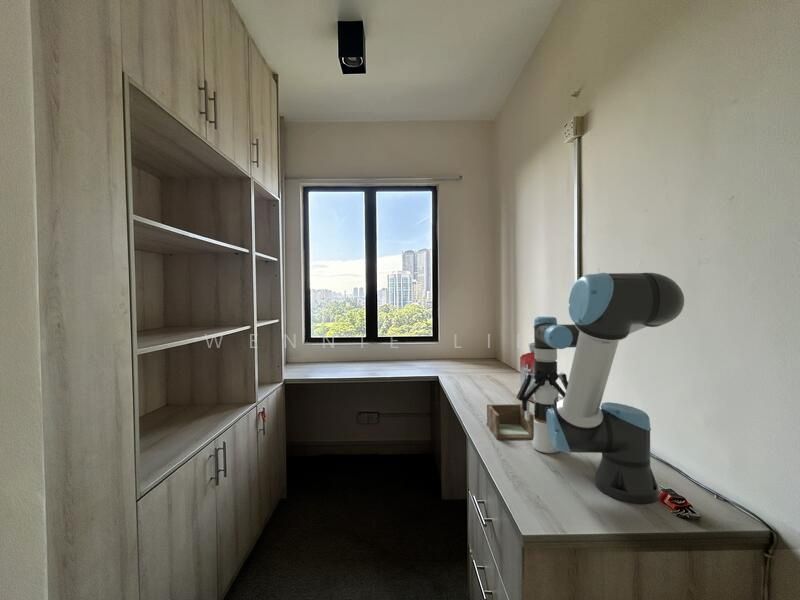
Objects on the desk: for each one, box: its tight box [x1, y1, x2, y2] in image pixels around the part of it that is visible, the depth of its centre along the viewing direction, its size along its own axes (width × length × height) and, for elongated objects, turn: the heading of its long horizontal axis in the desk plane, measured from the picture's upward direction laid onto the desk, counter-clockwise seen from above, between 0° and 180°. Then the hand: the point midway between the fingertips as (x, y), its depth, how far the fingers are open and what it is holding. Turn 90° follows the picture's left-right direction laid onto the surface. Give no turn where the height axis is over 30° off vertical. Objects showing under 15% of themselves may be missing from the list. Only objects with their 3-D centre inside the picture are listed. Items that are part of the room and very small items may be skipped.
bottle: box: [519, 342, 536, 404], centre depth 193 cm, size 14×10×30 cm
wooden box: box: [486, 403, 534, 441], centre depth 149 cm, size 16×14×9 cm
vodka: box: [532, 373, 560, 455], centre depth 132 cm, size 9×9×30 cm
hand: (546, 419), depth 132 cm, fingers open, 13 cm apart
